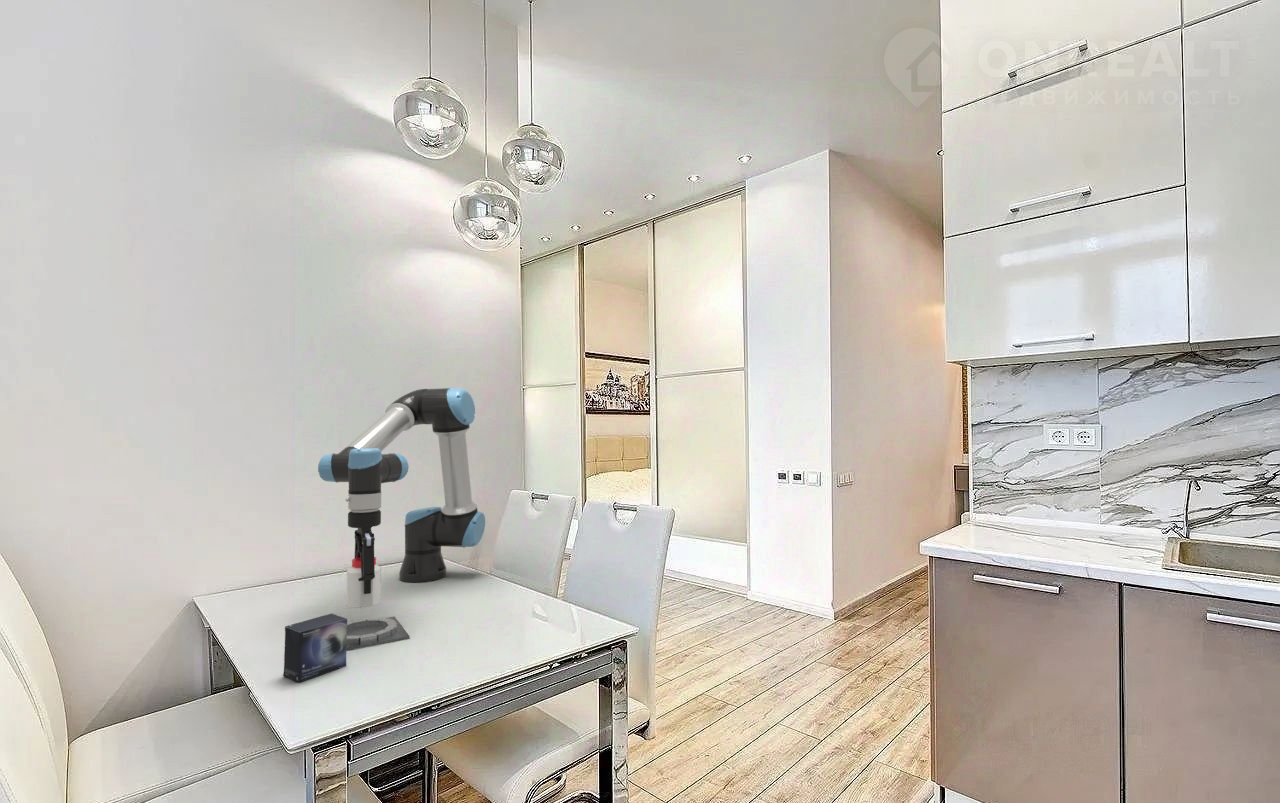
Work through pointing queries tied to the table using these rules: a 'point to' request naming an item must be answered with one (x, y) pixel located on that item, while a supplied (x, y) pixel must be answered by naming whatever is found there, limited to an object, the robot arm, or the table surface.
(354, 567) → the pill bottle
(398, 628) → the ring seat
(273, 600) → the table surface
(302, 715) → the table surface
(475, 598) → the table surface
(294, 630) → the small box
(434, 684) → the table surface
